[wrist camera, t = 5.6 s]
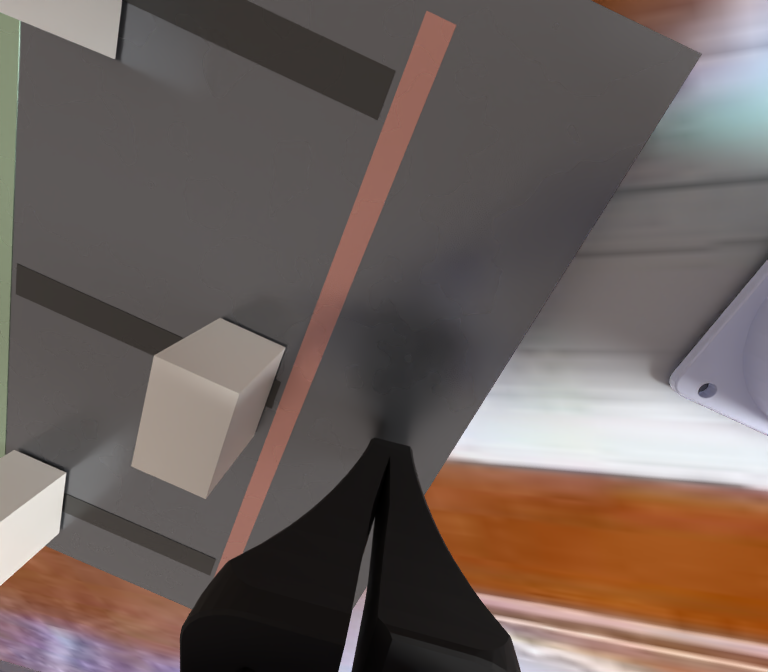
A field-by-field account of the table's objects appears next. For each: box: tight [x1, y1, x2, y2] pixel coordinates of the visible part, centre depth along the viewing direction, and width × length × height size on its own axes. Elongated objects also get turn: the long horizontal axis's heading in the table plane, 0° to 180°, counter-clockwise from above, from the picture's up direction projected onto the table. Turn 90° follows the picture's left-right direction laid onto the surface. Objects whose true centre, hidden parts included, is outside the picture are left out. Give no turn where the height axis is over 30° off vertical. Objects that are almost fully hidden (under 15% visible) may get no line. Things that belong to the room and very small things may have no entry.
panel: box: [0, 0, 701, 609], centre depth 14 cm, size 18×27×1 cm, turn 157°
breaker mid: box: [131, 318, 286, 499], centre depth 12 cm, size 2×4×3 cm, turn 157°
